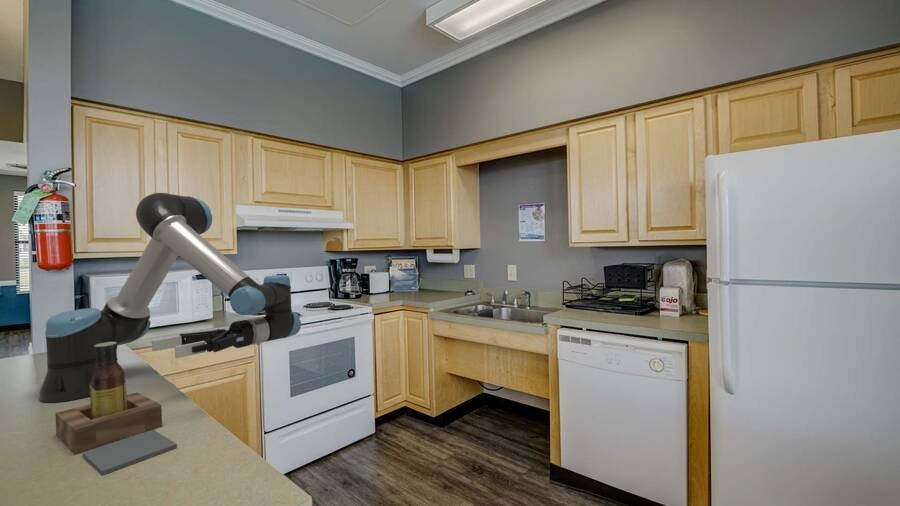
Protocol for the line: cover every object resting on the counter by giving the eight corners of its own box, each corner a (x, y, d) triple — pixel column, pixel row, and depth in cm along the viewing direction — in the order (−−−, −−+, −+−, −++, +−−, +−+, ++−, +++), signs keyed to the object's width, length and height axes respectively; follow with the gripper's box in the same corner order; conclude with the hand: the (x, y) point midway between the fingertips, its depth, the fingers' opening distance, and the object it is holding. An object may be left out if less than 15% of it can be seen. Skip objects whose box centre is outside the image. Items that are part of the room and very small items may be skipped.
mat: (82, 456, 81) (82, 452, 81) (153, 433, 91) (153, 429, 91) (102, 475, 74) (102, 471, 74) (176, 447, 84) (176, 443, 84)
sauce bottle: (106, 425, 95) (103, 340, 95) (134, 423, 96) (131, 339, 96) (83, 438, 89) (80, 347, 88) (114, 436, 89) (110, 346, 89)
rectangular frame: (56, 435, 91) (55, 413, 91) (137, 412, 103) (136, 392, 103) (75, 454, 82) (74, 429, 82) (162, 426, 94) (161, 404, 94)
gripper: (273, 350, 111) (186, 371, 93) (227, 340, 125) (144, 357, 108) (272, 322, 111) (185, 339, 93) (226, 316, 125) (143, 329, 108)
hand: (163, 349), depth 101 cm, fingers open, 13 cm apart
